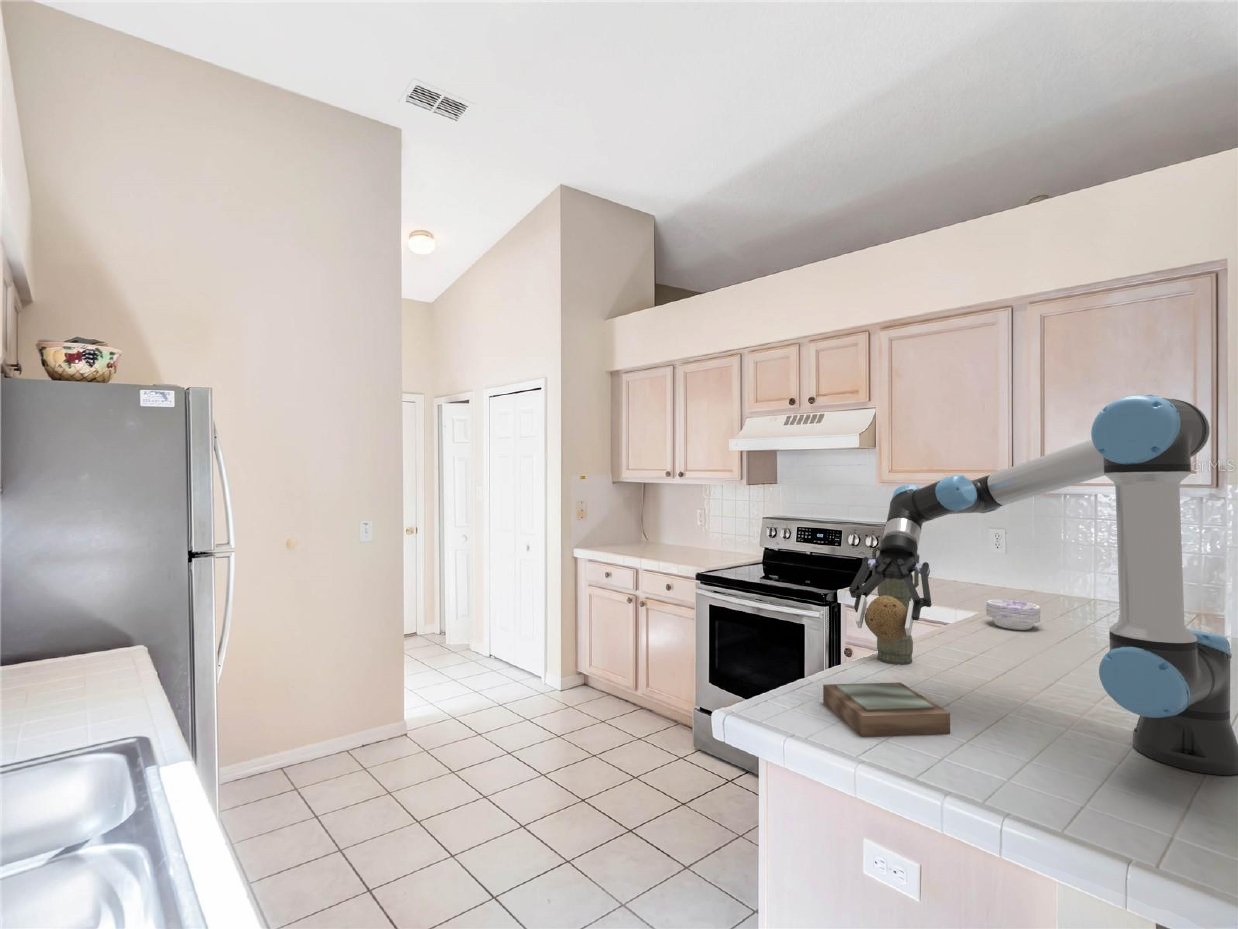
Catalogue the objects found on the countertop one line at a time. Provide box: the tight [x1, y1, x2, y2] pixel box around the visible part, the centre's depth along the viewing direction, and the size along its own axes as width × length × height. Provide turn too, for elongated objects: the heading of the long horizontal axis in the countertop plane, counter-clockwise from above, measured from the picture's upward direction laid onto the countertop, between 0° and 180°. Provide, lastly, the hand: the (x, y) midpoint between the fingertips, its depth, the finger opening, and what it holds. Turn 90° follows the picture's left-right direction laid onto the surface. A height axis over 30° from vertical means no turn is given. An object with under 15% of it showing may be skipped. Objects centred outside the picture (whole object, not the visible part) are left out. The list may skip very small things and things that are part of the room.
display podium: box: [822, 681, 951, 738], centre depth 133 cm, size 18×18×4 cm
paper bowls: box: [985, 599, 1041, 631], centre depth 211 cm, size 15×15×8 cm
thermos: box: [871, 531, 920, 666], centre depth 173 cm, size 9×12×35 cm
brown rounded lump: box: [864, 595, 908, 644], centre depth 134 cm, size 9×9×10 cm
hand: (882, 628), depth 132 cm, fingers closed on brown rounded lump, 9 cm apart
